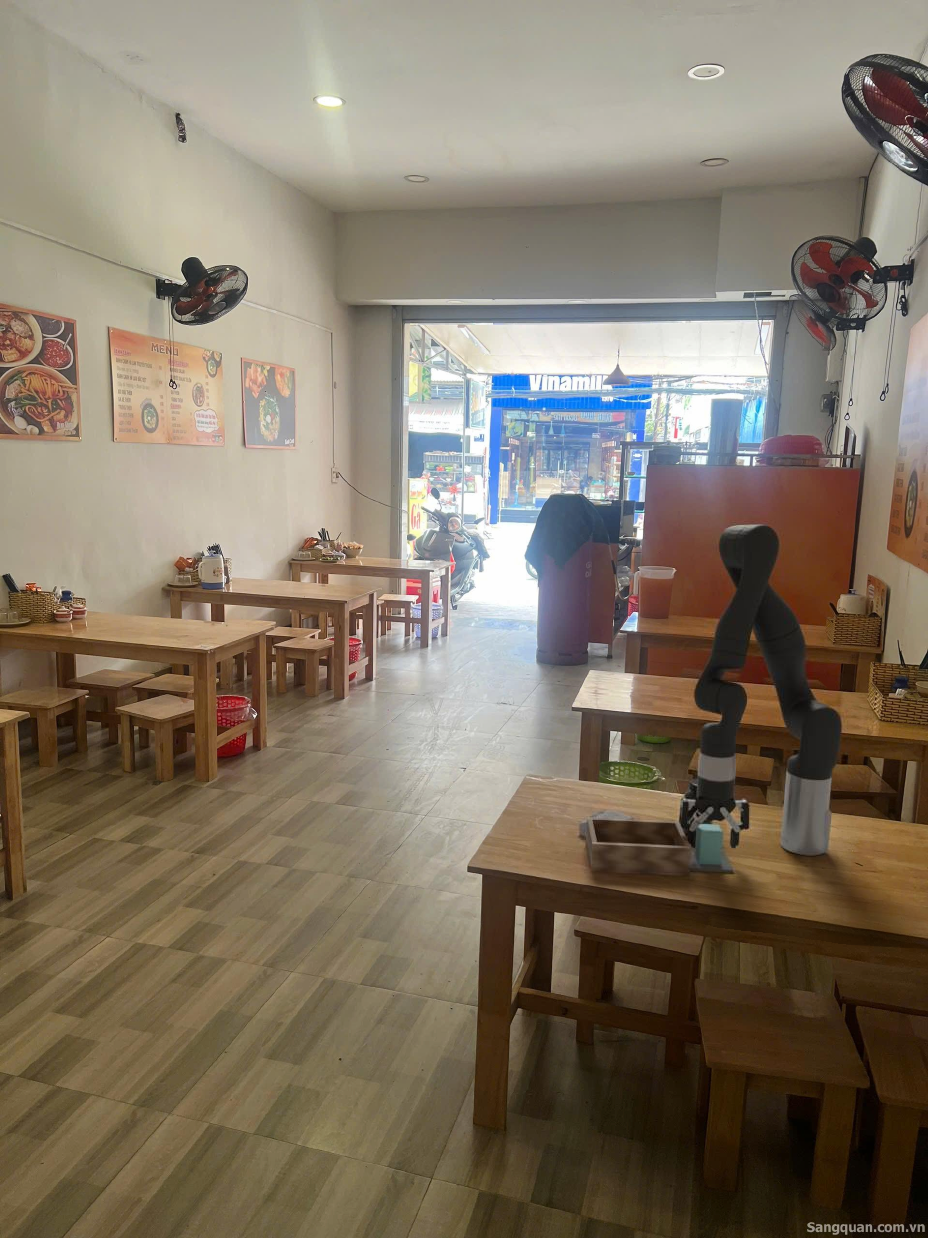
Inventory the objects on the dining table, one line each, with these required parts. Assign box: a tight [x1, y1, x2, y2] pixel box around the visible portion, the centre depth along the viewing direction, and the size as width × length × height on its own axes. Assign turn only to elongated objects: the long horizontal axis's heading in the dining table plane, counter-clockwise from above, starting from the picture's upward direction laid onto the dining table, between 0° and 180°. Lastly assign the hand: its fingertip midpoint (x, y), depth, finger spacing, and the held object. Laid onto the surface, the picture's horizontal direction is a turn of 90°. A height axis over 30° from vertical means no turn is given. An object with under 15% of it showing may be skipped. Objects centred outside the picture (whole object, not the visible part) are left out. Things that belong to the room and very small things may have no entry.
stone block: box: [578, 810, 635, 838], centre depth 200 cm, size 12×5×10 cm
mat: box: [690, 849, 735, 874], centre depth 186 cm, size 9×9×1 cm
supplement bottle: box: [682, 778, 714, 835], centre depth 200 cm, size 7×7×12 cm
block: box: [694, 824, 724, 865], centre depth 185 cm, size 4×4×7 cm
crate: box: [585, 816, 692, 877], centre depth 186 cm, size 20×14×6 cm
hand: (712, 846), depth 185 cm, fingers open, 8 cm apart
